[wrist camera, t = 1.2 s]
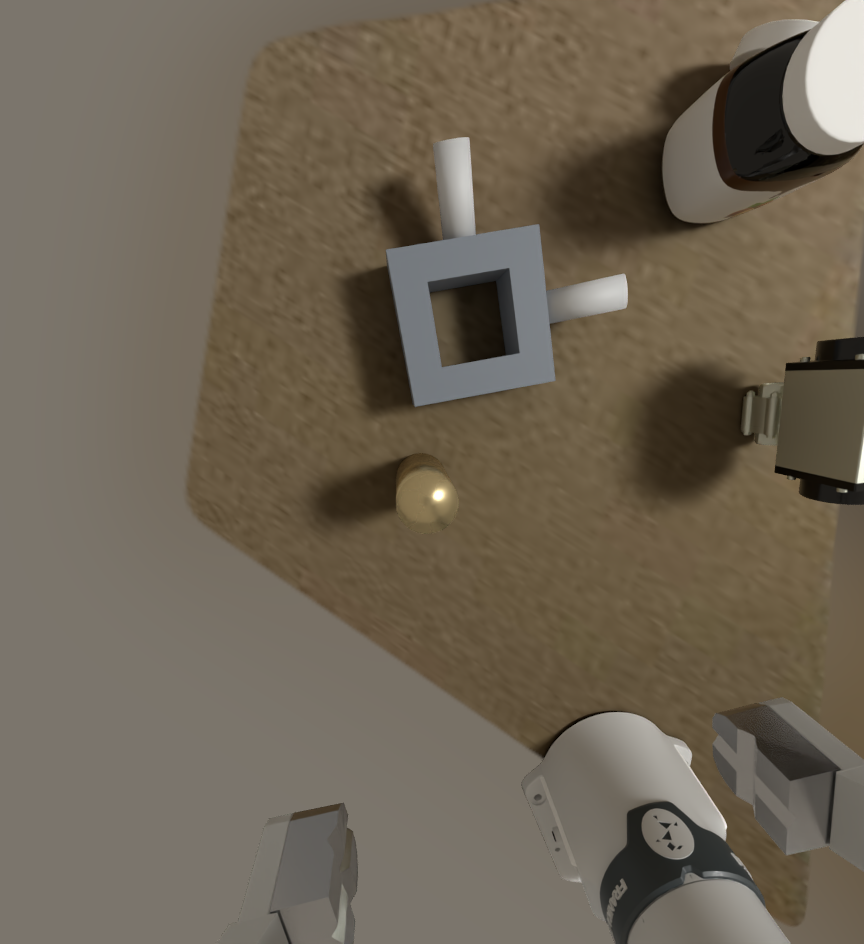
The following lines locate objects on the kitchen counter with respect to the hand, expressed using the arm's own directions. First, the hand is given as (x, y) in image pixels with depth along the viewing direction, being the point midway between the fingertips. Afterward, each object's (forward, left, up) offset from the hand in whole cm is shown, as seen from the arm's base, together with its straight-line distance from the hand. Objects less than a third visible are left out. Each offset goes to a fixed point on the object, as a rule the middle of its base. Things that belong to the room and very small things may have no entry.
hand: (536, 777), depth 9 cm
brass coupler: (0, +1, -29) cm, 29 cm away
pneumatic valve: (0, -31, -29) cm, 42 cm away
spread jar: (+22, -27, -29) cm, 45 cm away
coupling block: (+15, -8, -28) cm, 33 cm away
